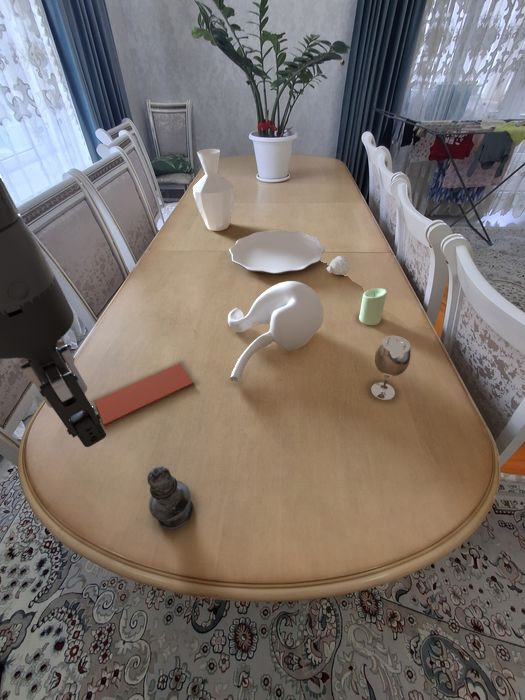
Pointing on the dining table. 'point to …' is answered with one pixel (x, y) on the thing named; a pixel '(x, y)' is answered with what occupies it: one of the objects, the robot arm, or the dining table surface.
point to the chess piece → (169, 498)
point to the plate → (277, 251)
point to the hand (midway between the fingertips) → (82, 414)
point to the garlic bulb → (339, 265)
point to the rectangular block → (142, 393)
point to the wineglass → (390, 363)
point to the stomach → (279, 319)
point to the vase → (214, 193)
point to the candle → (372, 306)
